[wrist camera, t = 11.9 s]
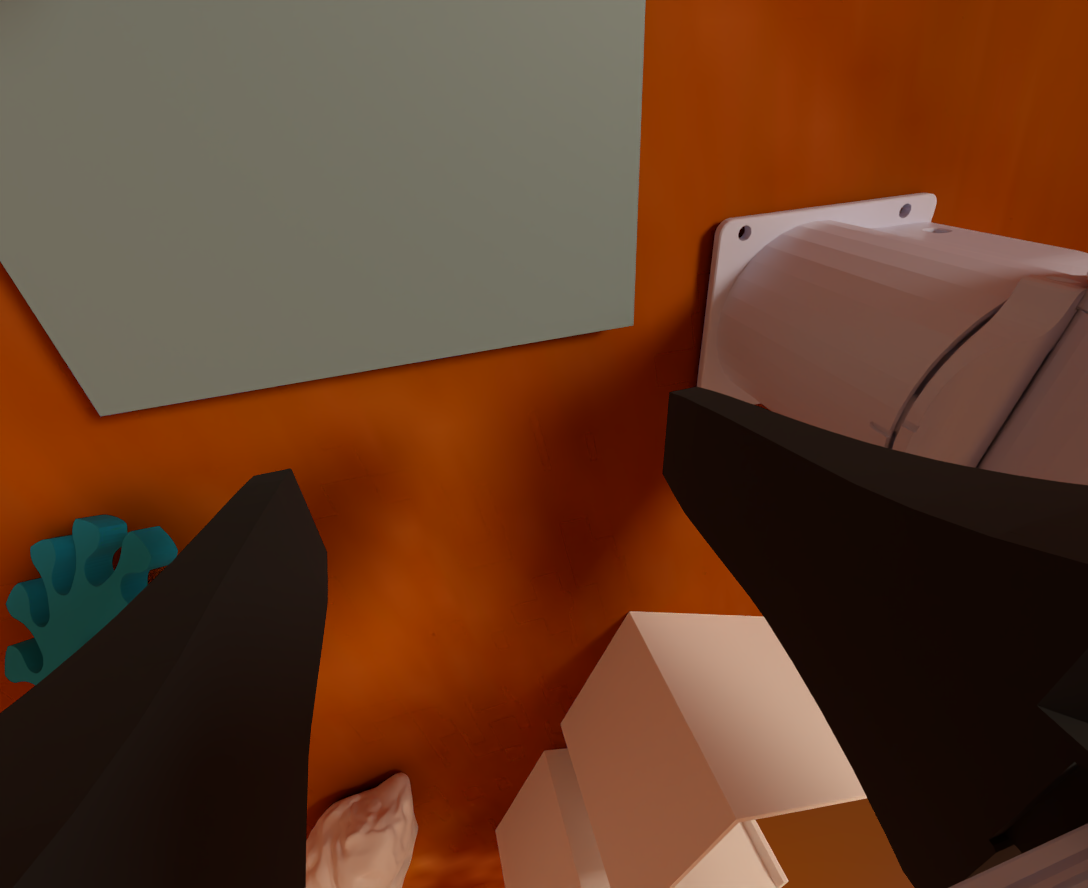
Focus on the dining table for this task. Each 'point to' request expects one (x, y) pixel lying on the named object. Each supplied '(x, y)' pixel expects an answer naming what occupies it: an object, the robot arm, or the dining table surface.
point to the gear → (79, 590)
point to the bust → (364, 839)
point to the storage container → (676, 763)
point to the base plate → (314, 183)
